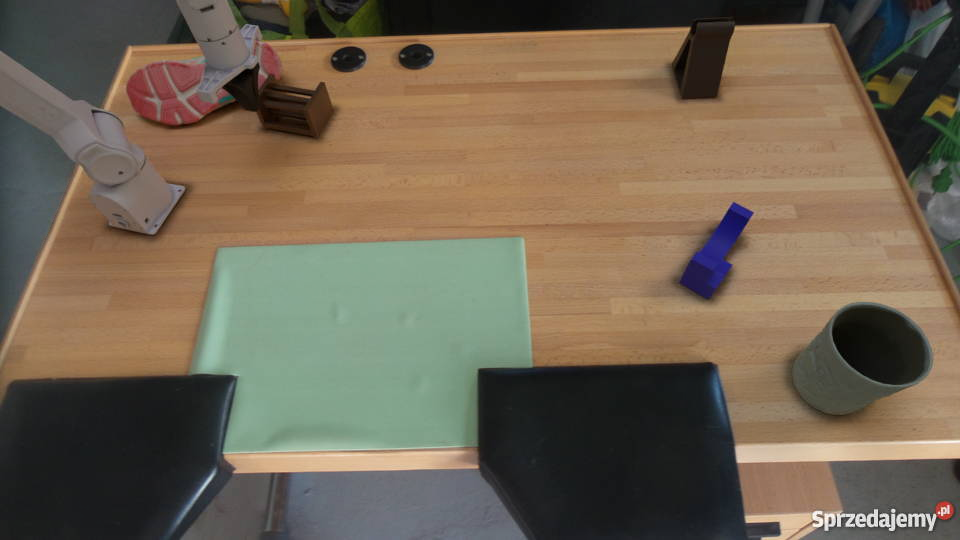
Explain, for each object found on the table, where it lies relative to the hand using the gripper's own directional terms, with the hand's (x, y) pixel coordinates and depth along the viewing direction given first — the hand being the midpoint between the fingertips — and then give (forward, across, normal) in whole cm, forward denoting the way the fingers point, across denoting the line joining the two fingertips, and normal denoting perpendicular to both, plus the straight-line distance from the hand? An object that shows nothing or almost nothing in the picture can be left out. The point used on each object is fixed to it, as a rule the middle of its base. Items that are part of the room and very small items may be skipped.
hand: (252, 108), depth 86 cm
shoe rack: (+9, +8, -1) cm, 12 cm away
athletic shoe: (+10, +9, +15) cm, 20 cm away
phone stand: (+10, +32, -66) cm, 74 cm away
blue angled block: (+10, -6, -71) cm, 72 cm away
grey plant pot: (+10, -20, -85) cm, 88 cm away
